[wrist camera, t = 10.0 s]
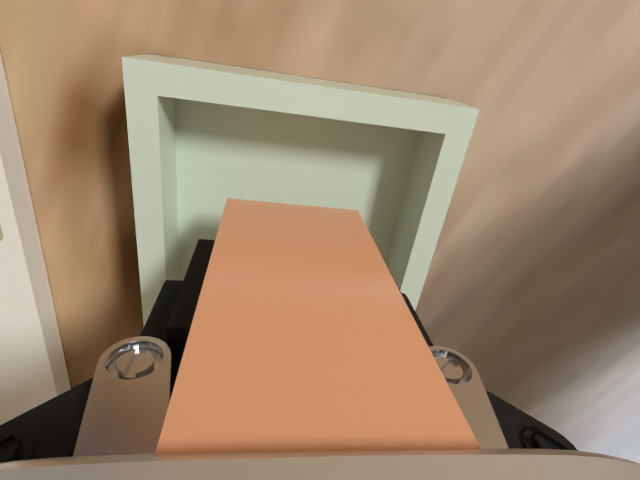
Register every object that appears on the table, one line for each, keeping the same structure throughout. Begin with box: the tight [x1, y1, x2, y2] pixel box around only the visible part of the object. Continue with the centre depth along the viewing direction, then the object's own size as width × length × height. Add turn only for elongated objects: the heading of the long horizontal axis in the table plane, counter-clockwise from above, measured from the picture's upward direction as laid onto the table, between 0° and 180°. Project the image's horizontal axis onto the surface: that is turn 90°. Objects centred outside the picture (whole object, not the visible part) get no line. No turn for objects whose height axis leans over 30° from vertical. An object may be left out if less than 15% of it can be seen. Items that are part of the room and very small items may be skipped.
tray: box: [122, 54, 480, 326], centre depth 14 cm, size 10×12×2 cm
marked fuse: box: [155, 198, 481, 454], centre depth 8 cm, size 4×5×10 cm
